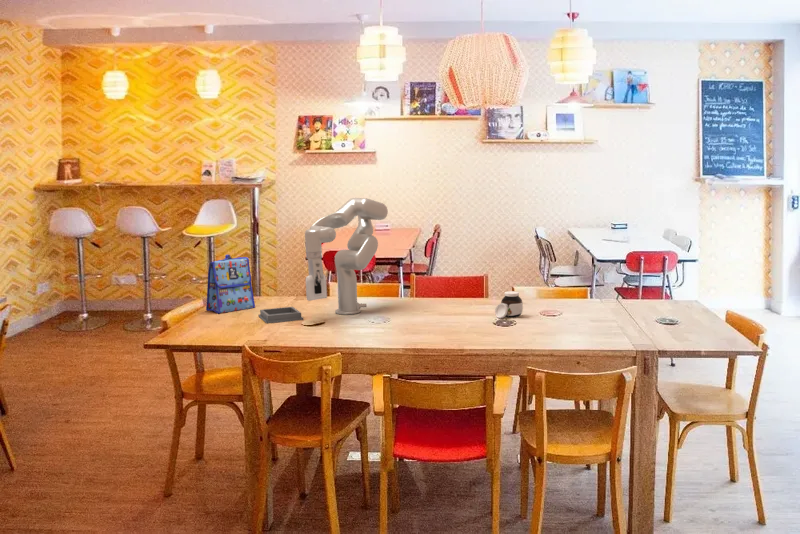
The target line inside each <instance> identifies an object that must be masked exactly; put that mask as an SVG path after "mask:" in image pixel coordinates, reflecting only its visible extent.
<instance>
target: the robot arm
mask: <svg viewBox="0 0 800 534" xmlns="http://www.w3.org/2000/svg"><path fill="white" fill-rule="evenodd" d="M356 217H357V219H358V221H357V223H358V224H357V227H356V228H355V230H354V231H353V233H352V234H351V236H350V238H349V239H348V241H347V244H346V245H347V249H340V250H338V251H337V252H336V253H335V255H334V264H335V268H336V274H337V275H336V276H337V300H338V301H337V303H338V304H337V306H338V307H337V309H335V311H334V312H335V314H338V315H355V314H356V315H357V314H359V313H361V312H362V311H361V308H364V309H365V308H367V307H368V305H367V303H359V302H358V285H357V284H358V283H357V282H358V281H357V279H358V278H357V275H356V272H355V271H362V270H364V269H366V268H367V267H368V266H369V264H370V262H371V261H372V259H373V257H374V256H375V254H376V252H377V251H378V249H379V242H378V238H377V237H376V236H374V235H373V234H374V227H373V224H372V221H373V220H374V221H382V220H385V219H386V217H388V206H386V205H385V204H384V203H383V202H379V201H376V200H375V199H370V198H365V197H352V198H350V199H348V200H347V201H346V202H345V203H344V204H343V205H342V206H341V207H339V209H337V210H336V211H335V212H333V213H330V214H328V215H325V216H323V217H321V218H320V219H318V220H317V221H315V222H314V223H313V224H312V225H311V226H310V227H309V228H307V229H305V231H304V242H305V257H306V260H307V265H308V267H307V268H308V269H307V270H308V276H309V275H312V277H313V279H314V281H315V286H314V288H315V294H319V293H322V291H321V279H323V278H324V276H323V274H324V269H323V268H324V267H323V261H322V258H323V248H322V243H331V242H333V241H334V240H335V239H336V237H337V232H336V229H340V228H343V227H346V226H348V225H349V224H350V223H351V222H352V221H353V220H354V219H355V218H356ZM320 276H321V277H320ZM316 278H318V279H316ZM316 280H318V281H317V282H316Z"/></svg>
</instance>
